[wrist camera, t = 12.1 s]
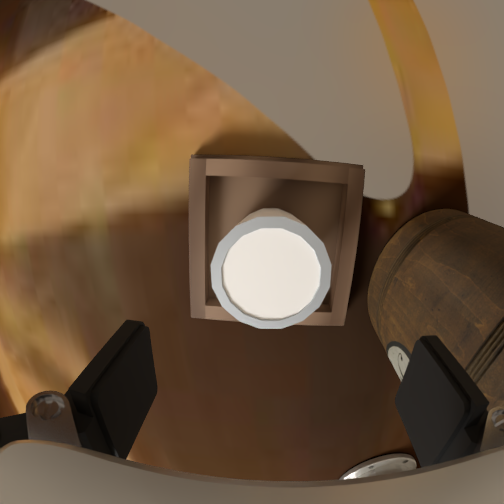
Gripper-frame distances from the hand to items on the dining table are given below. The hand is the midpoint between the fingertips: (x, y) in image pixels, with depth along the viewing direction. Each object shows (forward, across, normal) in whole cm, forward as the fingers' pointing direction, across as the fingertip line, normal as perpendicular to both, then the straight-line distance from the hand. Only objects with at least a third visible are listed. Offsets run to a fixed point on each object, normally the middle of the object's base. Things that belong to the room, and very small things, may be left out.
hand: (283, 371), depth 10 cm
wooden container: (+16, -16, +3) cm, 23 cm away
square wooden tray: (+16, 0, -1) cm, 16 cm away
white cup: (+15, +1, -1) cm, 15 cm away
